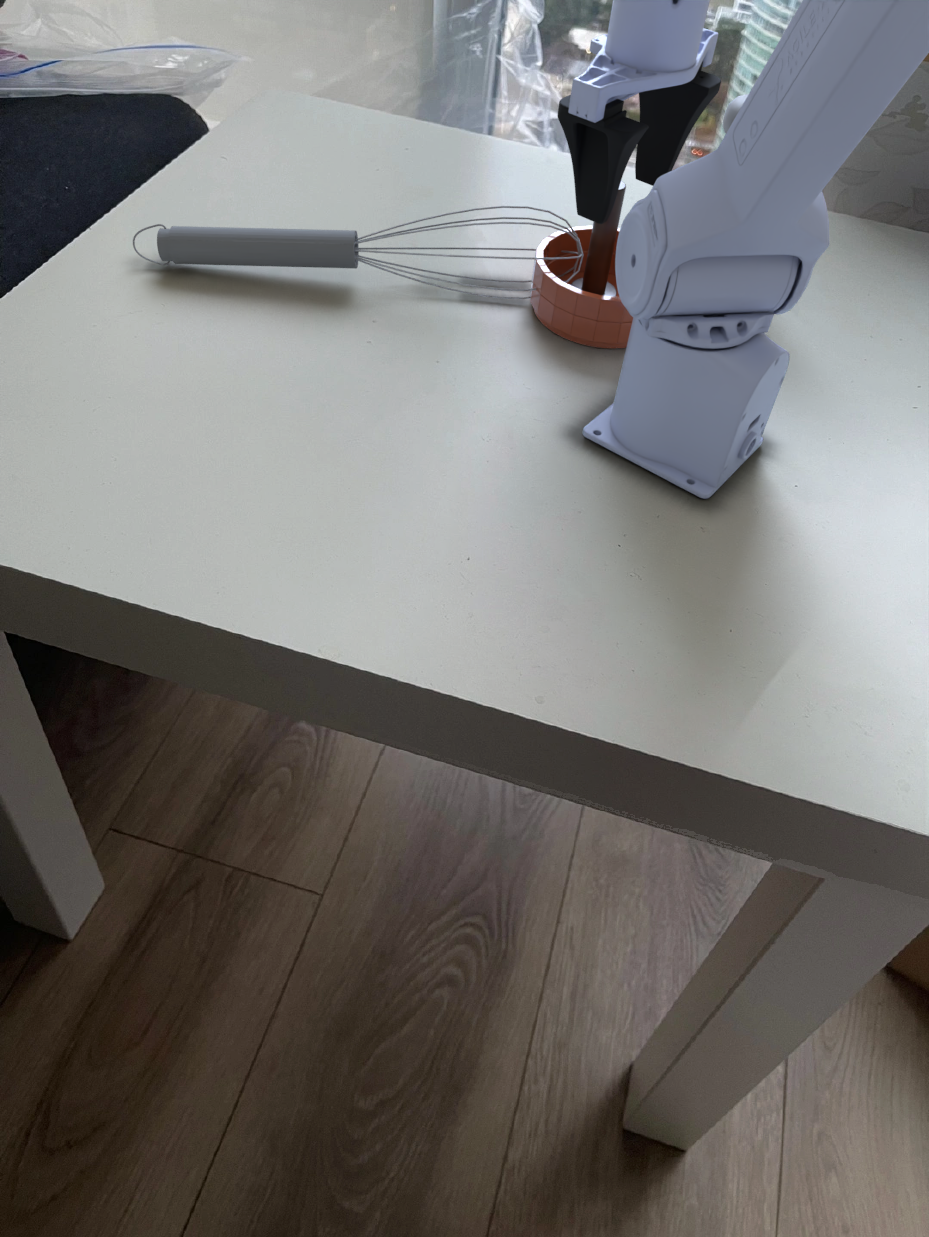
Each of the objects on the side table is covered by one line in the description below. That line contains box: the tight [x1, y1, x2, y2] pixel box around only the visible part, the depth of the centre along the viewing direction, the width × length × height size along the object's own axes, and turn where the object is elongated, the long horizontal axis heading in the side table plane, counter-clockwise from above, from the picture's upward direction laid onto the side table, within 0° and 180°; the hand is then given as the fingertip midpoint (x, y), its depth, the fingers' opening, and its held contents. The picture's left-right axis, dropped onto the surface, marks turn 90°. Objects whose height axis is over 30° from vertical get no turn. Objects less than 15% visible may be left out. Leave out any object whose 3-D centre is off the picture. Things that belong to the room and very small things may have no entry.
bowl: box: [529, 224, 633, 350], centre depth 71 cm, size 11×11×4 cm
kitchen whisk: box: [132, 205, 584, 300], centre depth 71 cm, size 6×34×6 cm, turn 88°
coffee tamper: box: [571, 180, 627, 297], centre depth 69 cm, size 4×4×9 cm
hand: (621, 199), depth 66 cm, fingers open, 7 cm apart
